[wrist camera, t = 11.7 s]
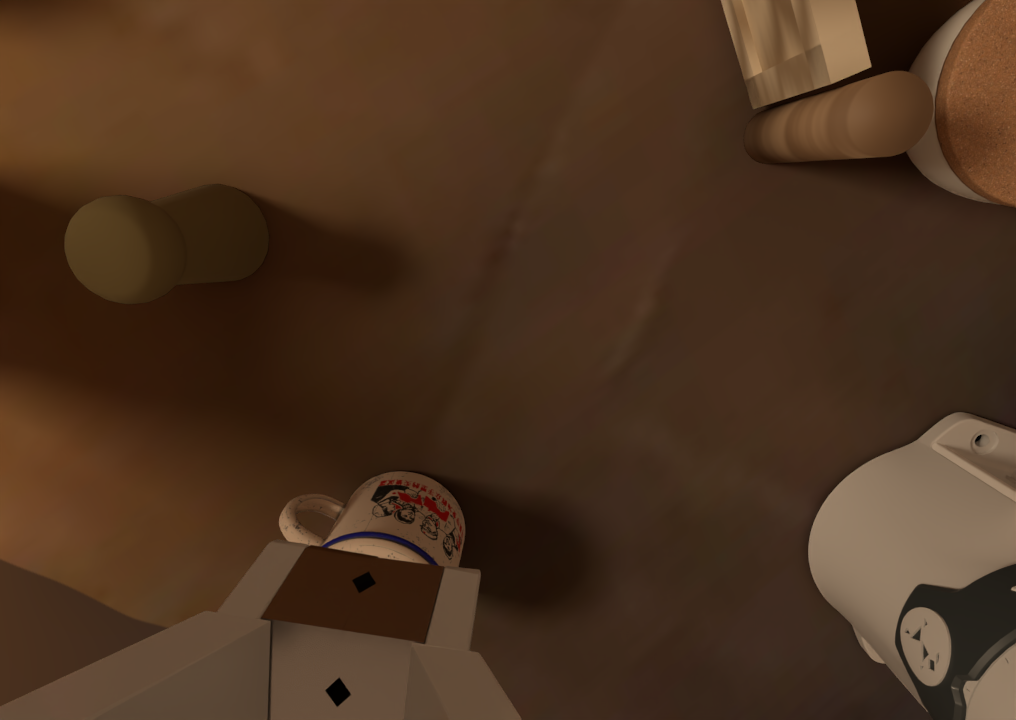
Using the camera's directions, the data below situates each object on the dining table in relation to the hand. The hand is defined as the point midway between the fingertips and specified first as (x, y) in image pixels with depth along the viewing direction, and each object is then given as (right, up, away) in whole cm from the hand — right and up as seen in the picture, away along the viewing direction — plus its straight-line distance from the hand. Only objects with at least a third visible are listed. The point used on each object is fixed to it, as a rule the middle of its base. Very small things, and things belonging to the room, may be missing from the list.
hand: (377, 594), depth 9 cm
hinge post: (+17, +16, +27) cm, 36 cm away
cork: (-16, +11, +30) cm, 36 cm away
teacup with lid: (-7, -7, +35) cm, 37 cm away
